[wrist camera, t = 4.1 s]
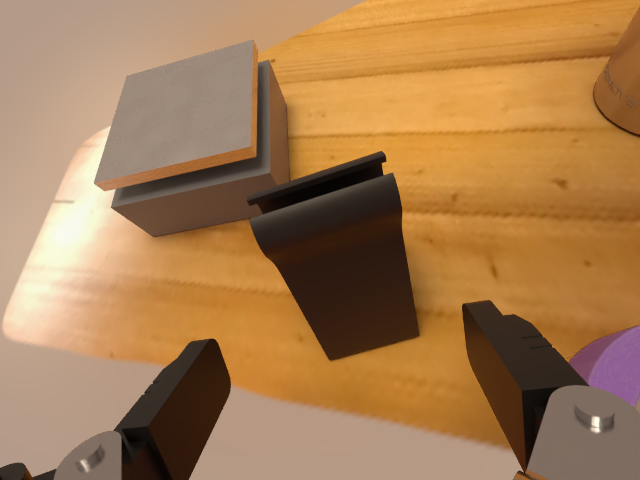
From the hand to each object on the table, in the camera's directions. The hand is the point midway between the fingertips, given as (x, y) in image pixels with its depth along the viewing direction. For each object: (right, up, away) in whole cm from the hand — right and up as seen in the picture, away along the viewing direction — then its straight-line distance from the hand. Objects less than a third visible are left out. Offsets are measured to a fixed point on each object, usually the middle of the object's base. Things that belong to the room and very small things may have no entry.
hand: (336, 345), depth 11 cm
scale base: (-10, +11, +21) cm, 26 cm away
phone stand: (+2, 0, +13) cm, 13 cm away
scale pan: (-11, +13, +16) cm, 24 cm away
